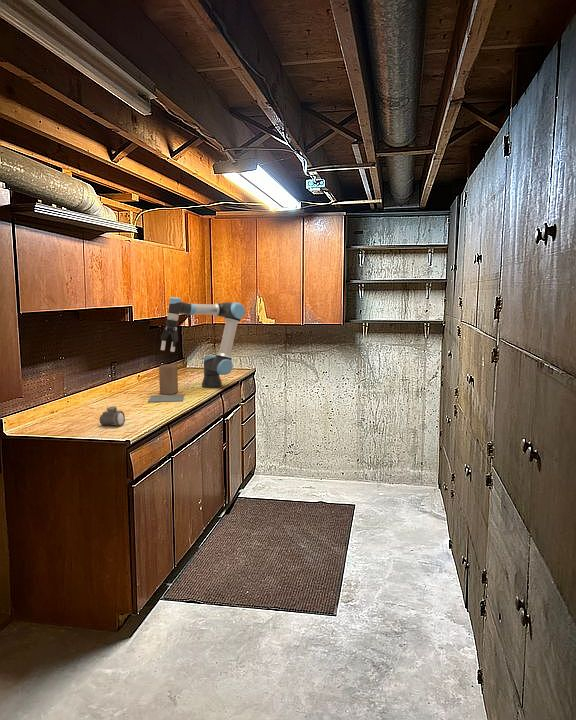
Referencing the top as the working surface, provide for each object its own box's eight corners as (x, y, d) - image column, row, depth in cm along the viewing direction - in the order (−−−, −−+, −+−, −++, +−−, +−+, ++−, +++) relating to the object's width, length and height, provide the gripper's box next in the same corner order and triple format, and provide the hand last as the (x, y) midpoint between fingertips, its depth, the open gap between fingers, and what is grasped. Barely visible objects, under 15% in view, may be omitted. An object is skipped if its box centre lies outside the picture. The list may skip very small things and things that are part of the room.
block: (172, 394, 381) (172, 366, 379) (159, 394, 383) (158, 365, 381) (178, 392, 391) (177, 364, 389) (165, 391, 393) (164, 364, 391)
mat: (184, 395, 379) (184, 394, 379) (182, 401, 357) (182, 400, 357) (151, 396, 376) (151, 395, 376) (147, 402, 354) (147, 401, 354)
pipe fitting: (127, 423, 294) (123, 404, 292) (119, 428, 286) (115, 409, 285) (107, 424, 297) (103, 406, 295) (99, 429, 289) (95, 410, 288)
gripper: (158, 318, 383) (153, 348, 382) (176, 319, 364) (171, 351, 364) (168, 320, 388) (163, 350, 387) (186, 321, 369) (181, 353, 368)
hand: (167, 350), depth 375 cm, fingers open, 13 cm apart
